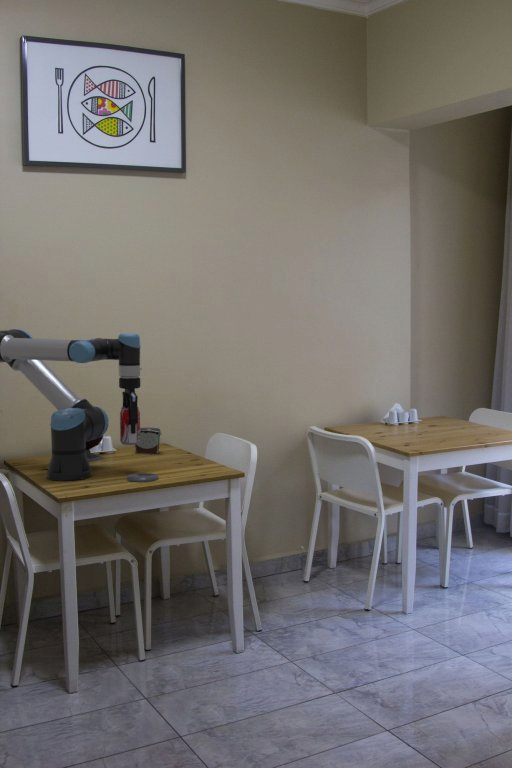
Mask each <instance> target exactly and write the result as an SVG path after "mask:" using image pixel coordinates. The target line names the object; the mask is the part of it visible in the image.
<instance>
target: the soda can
mask: <svg viewBox="0 0 512 768" xmlns="http://www.w3.org/2000/svg"><path fill="white" fill-rule="evenodd" d="M127 423H129V411H128V408H125V407H123V406H121V409H120V412H119V429H120V430H119V433H120V437H119V438H120V439H119V440H120V443H121V444H122V445H124V446H125V445H126V446H135V445H136V444H138V443H139V442H140V428H141V412H140V408H139V407H138V423H137V442H135V443H129V425H127Z"/></svg>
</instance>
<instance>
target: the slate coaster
mask: <svg viewBox="0 0 512 768" xmlns="http://www.w3.org/2000/svg"><path fill="white" fill-rule="evenodd" d="M157 480H159V475H158V474H156V473H149V472H145V473H142V472H141V473H132V474H128V475H127V476H126V481H128V482H131V483H132V482H133V483H149V482H155V481H157Z"/></svg>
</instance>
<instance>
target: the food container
mask: <svg viewBox="0 0 512 768" xmlns="http://www.w3.org/2000/svg"><path fill="white" fill-rule="evenodd" d="M161 436H162V430H161V428H159V427H151V426H150V427H140V442H139V443H138V444H136V445H134V448H135V454H136V453H140V454H139V455H150V454H154V455H153V456H159V453H160V451H159V450H160V441H161Z"/></svg>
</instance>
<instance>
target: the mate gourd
mask: <svg viewBox="0 0 512 768" xmlns="http://www.w3.org/2000/svg"><path fill="white" fill-rule="evenodd" d="M103 438H104V435H103V436H101V437H99V438H98V439H96V440H91V441H88V442H85V444H86V456H87V459H88V462H95V461H100V460H102V459H103V455H101V454H96V453H91V449H93V448H95V447H97V446H99V445H100V444H101V442H102V441H103Z"/></svg>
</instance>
